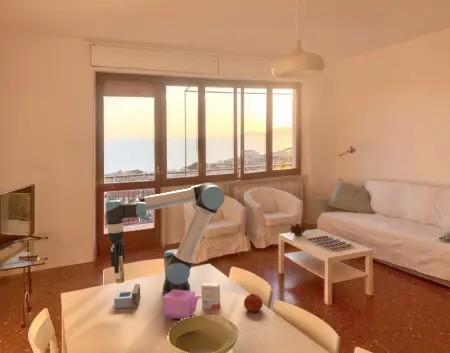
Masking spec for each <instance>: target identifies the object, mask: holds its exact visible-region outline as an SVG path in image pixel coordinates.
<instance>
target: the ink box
mask: <svg viewBox="0 0 450 353" xmlns="http://www.w3.org/2000/svg"><path fill="white" fill-rule="evenodd" d="M220 286H221V285H220V283H219V282H205V281H204V282H203V283H202V284H201V287H200V288H201V289H200V290H201V296H202V297H201V307H202V310H203V309H204V310H205V309H206V310H207V309H208V310H220V307H221V287H220Z"/></svg>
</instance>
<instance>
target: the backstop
mask: <svg viewBox="0 0 450 353" xmlns="http://www.w3.org/2000/svg"><path fill="white" fill-rule="evenodd" d="M132 291H133V292H132V305H133V307H132V309H133V310H134V309H136V310H137V309H138V308H139V305H140V301H141V283H135V284H134V286H133V289H132Z"/></svg>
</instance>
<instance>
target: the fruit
mask: <svg viewBox="0 0 450 353" xmlns="http://www.w3.org/2000/svg"><path fill="white" fill-rule="evenodd" d="M263 303H264V302H263V300H262V298H261V297H260V296H259V295H258V294H255V293H250V294H249V295H247V296H246V297H245V298H244V300H243V307H244V308H245V309H246V310H247V311H249V312H252V313H253V312H254V313H255V312H258V311H260V310H261V309H262V308H263Z"/></svg>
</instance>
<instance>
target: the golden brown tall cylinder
mask: <svg viewBox="0 0 450 353" xmlns="http://www.w3.org/2000/svg"><path fill="white" fill-rule="evenodd" d="M123 264H124V262H123V260H122V256H120V255H119V266H120V273H121V279H115V283H116V284H122V283H124V282H125V271H124V272H123Z"/></svg>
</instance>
